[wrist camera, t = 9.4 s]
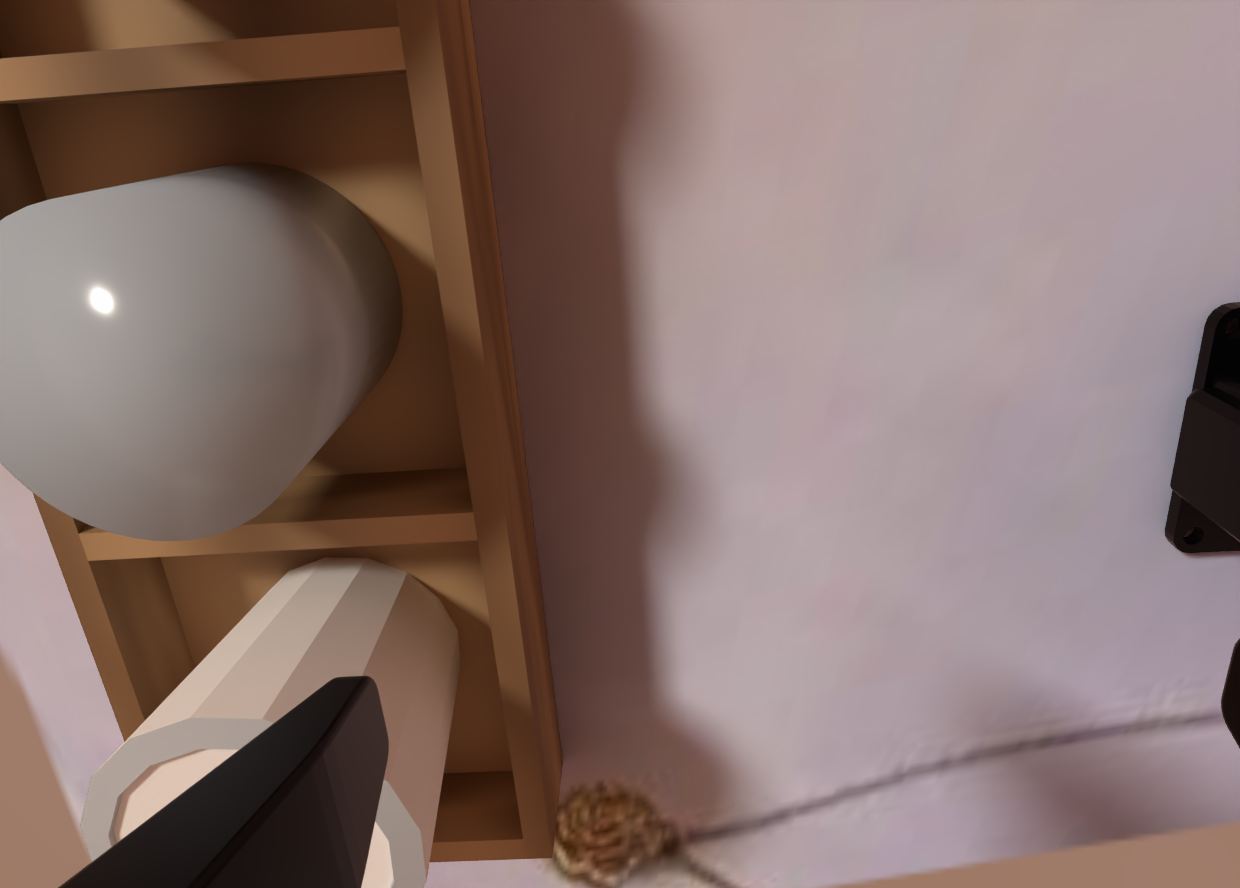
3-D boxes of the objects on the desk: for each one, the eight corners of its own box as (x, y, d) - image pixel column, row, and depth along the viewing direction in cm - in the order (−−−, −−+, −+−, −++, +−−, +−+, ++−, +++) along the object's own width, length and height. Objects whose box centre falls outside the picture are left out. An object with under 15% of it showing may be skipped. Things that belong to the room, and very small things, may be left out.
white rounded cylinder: (377, 152, 19) (266, 182, 13) (421, 412, 21) (342, 532, 15) (107, 172, 19) (-115, 209, 13) (179, 427, 21) (17, 549, 16)
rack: (396, -590, 15) (329, -779, 12) (562, 762, 26) (552, 858, 23) (-183, -525, 15) (-404, -688, 12) (229, 775, 27) (172, 871, 23)
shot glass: (533, 676, 24) (495, 897, 17) (344, 780, 25) (244, 1017, 19) (374, 488, 22) (262, 661, 15) (178, 614, 23) (1, 818, 17)
